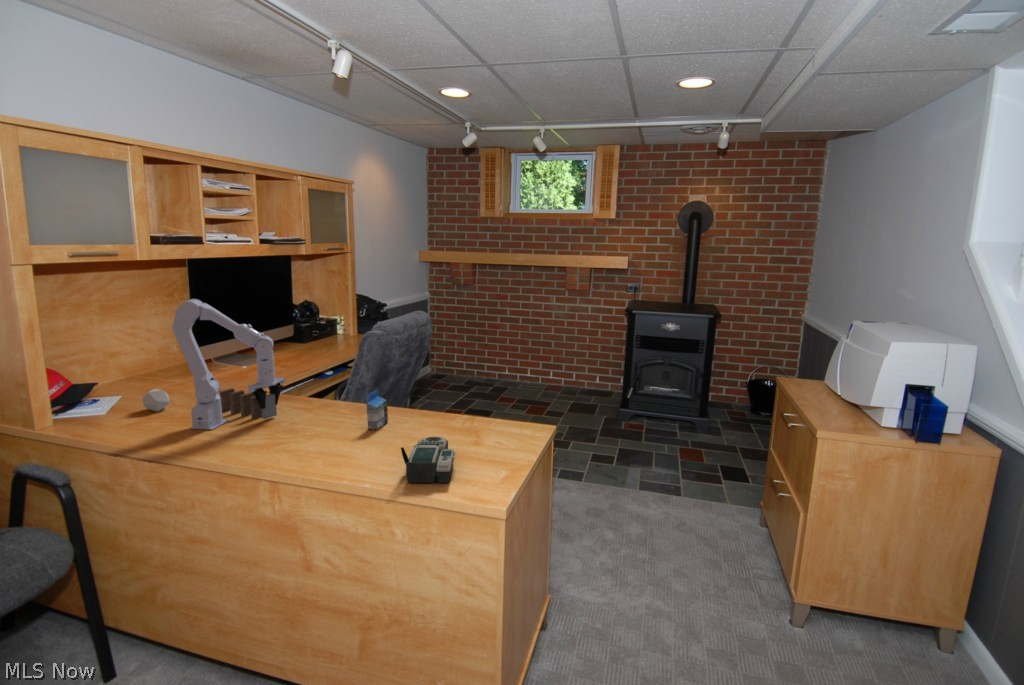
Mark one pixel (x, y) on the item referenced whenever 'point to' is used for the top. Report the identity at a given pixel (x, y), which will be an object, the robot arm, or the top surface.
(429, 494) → the top surface
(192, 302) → the robot arm
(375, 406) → the label tape box
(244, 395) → the domino
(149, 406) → the die
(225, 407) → the domino
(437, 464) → the communication device
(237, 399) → the domino
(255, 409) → the domino
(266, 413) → the domino
